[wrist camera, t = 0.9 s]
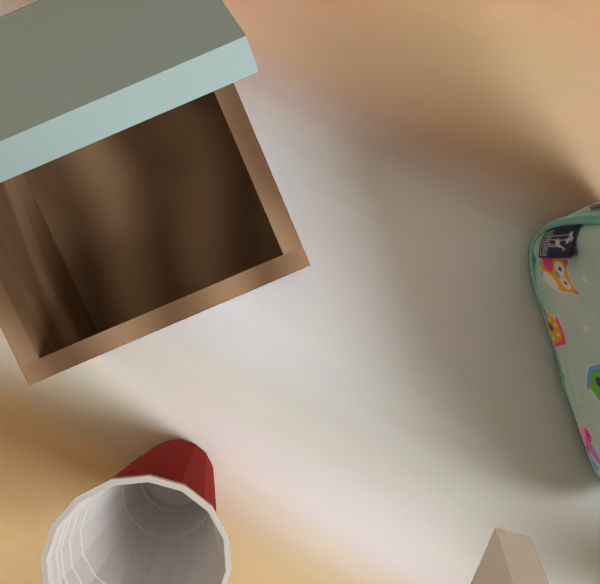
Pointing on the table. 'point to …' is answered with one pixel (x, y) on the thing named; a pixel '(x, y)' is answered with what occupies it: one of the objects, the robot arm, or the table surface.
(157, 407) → the table surface
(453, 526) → the table surface
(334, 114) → the table surface
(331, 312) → the table surface
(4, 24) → the pale teal square panel
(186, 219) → the wooden box
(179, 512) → the plastic cup
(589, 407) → the lunch box
